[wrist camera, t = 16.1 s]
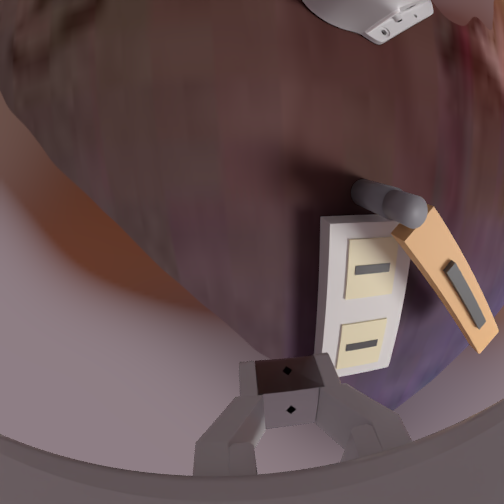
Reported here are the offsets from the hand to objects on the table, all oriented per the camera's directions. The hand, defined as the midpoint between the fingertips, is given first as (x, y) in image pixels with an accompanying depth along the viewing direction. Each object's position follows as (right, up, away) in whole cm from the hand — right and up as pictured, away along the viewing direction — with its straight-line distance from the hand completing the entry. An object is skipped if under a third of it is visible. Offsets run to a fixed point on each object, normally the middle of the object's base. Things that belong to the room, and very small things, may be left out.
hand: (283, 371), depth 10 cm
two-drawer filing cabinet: (+14, 0, +31) cm, 34 cm away
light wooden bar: (+25, 0, +23) cm, 34 cm away
